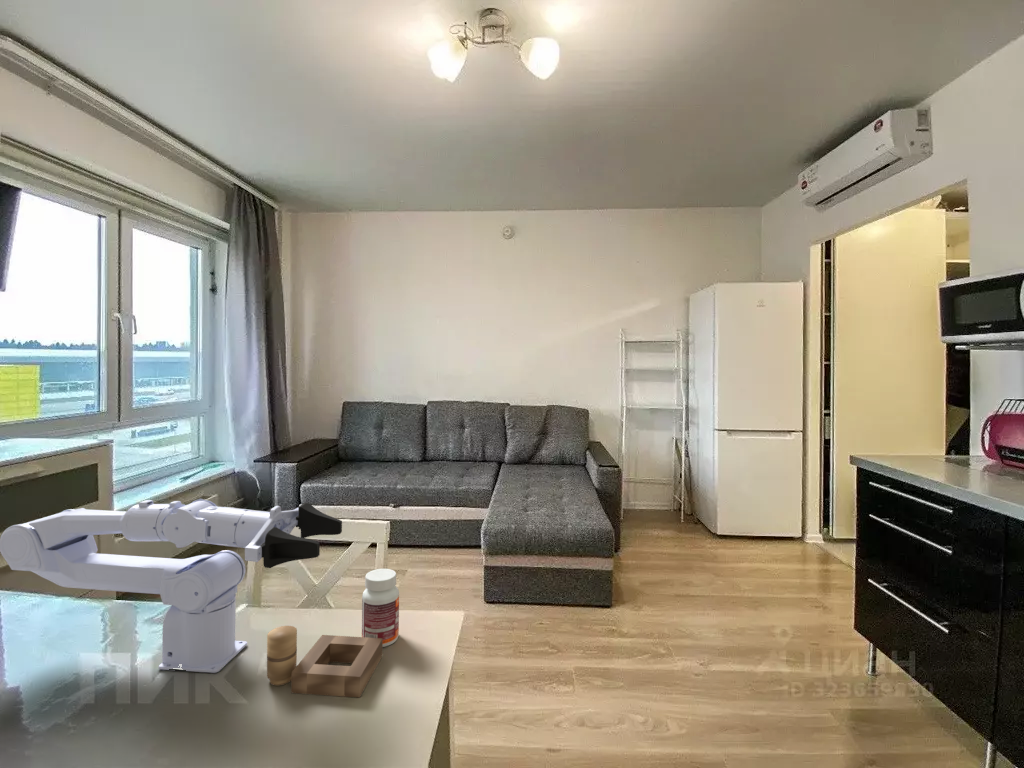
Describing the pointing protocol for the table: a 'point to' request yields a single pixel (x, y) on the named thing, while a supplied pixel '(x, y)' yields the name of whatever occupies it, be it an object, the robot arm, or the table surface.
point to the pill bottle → (380, 606)
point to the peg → (281, 654)
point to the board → (337, 679)
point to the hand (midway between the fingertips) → (330, 538)
